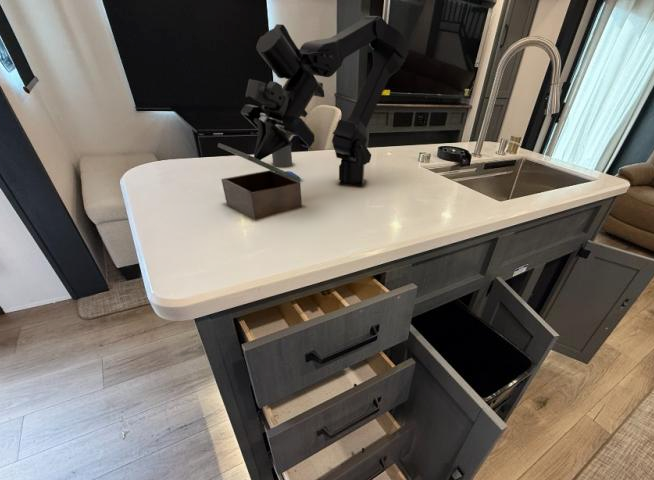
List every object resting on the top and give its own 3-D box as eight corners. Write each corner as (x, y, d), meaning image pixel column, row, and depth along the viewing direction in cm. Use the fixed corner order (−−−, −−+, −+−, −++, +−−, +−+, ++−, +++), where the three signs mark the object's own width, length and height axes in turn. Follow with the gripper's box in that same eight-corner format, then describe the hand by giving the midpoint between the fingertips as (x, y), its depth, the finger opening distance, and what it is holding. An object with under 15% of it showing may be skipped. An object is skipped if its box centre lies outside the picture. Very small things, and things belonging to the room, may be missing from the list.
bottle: (289, 168, 100) (285, 112, 91) (270, 166, 99) (264, 110, 90) (294, 163, 104) (290, 110, 95) (276, 161, 104) (270, 108, 95)
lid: (248, 159, 61) (249, 155, 61) (217, 146, 67) (218, 142, 66) (299, 182, 72) (300, 178, 72) (269, 169, 78) (270, 166, 78)
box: (255, 220, 68) (250, 193, 65) (226, 204, 73) (221, 178, 70) (302, 206, 76) (300, 182, 73) (273, 193, 81) (270, 169, 78)
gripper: (241, 58, 66) (201, 122, 66) (299, 67, 57) (253, 141, 57) (278, 102, 76) (243, 158, 75) (332, 115, 67) (293, 178, 67)
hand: (256, 158), depth 68 cm, fingers closed, pressing on lid
